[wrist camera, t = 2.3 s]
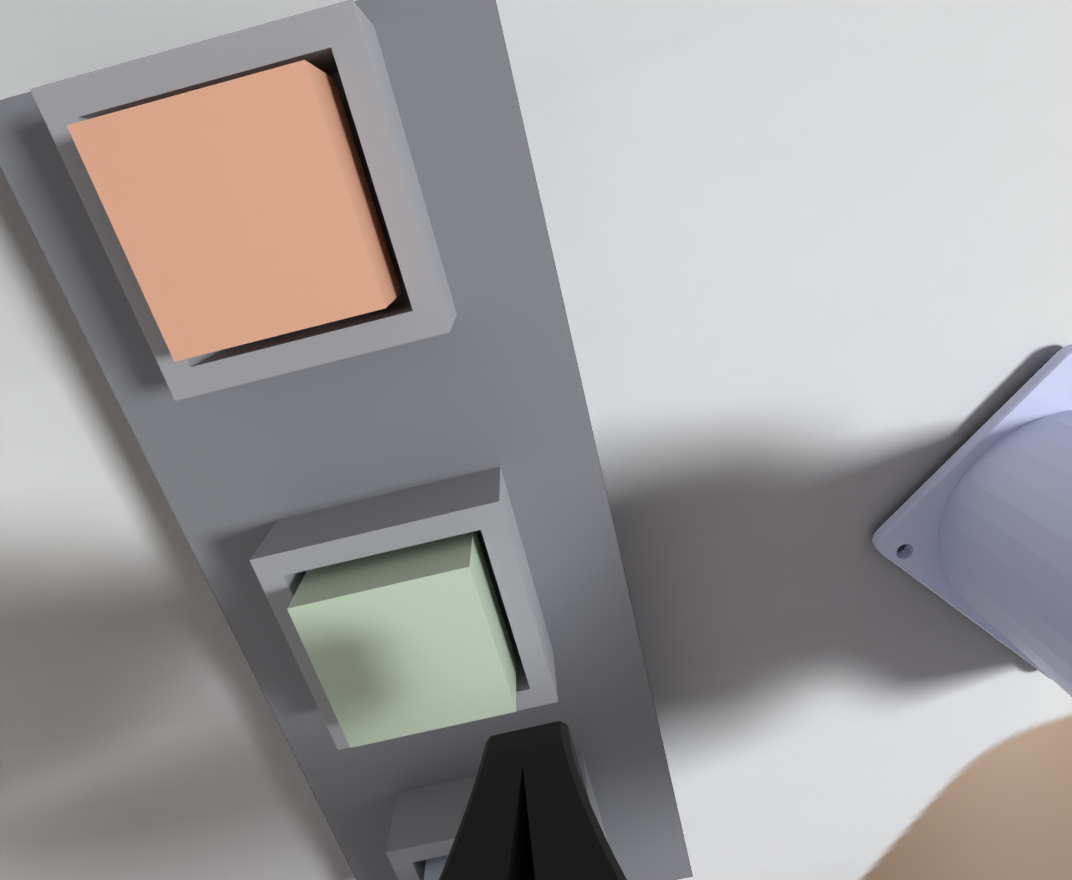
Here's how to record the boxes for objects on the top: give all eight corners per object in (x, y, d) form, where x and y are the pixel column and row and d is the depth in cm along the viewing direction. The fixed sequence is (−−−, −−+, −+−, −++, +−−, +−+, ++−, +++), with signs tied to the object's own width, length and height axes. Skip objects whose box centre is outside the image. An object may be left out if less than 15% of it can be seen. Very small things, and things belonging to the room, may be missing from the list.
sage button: (515, 656, 18) (516, 711, 16) (366, 690, 18) (350, 748, 16) (473, 523, 16) (469, 566, 14) (312, 561, 16) (286, 609, 15)
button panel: (675, 811, 25) (709, 938, 21) (397, 869, 25) (375, 1004, 21) (490, -1, 15) (483, -74, 11) (50, 120, 16) (-117, 95, 12)
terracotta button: (401, 292, 14) (385, 308, 12) (218, 339, 14) (174, 361, 12) (335, 79, 13) (305, 60, 11) (130, 134, 13) (66, 125, 11)
